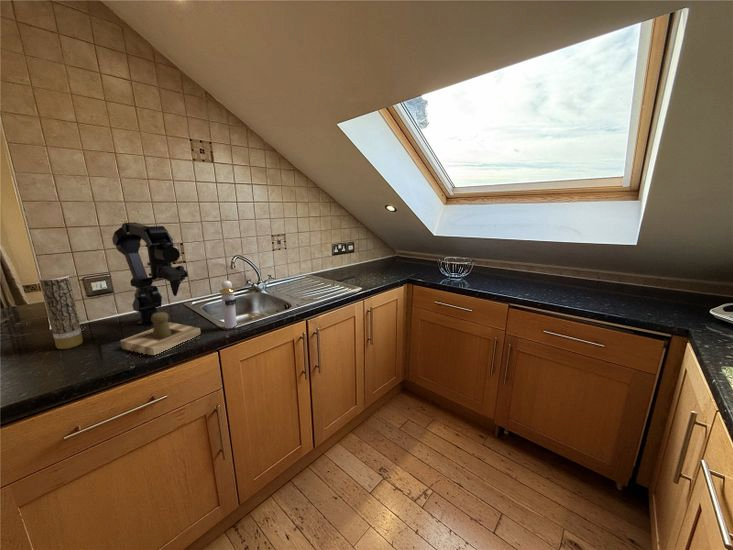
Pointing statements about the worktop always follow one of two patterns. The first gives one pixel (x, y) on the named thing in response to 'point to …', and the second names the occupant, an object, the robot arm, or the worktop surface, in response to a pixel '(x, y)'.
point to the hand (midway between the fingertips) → (164, 299)
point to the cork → (160, 325)
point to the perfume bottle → (228, 305)
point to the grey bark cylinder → (61, 310)
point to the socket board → (154, 346)
